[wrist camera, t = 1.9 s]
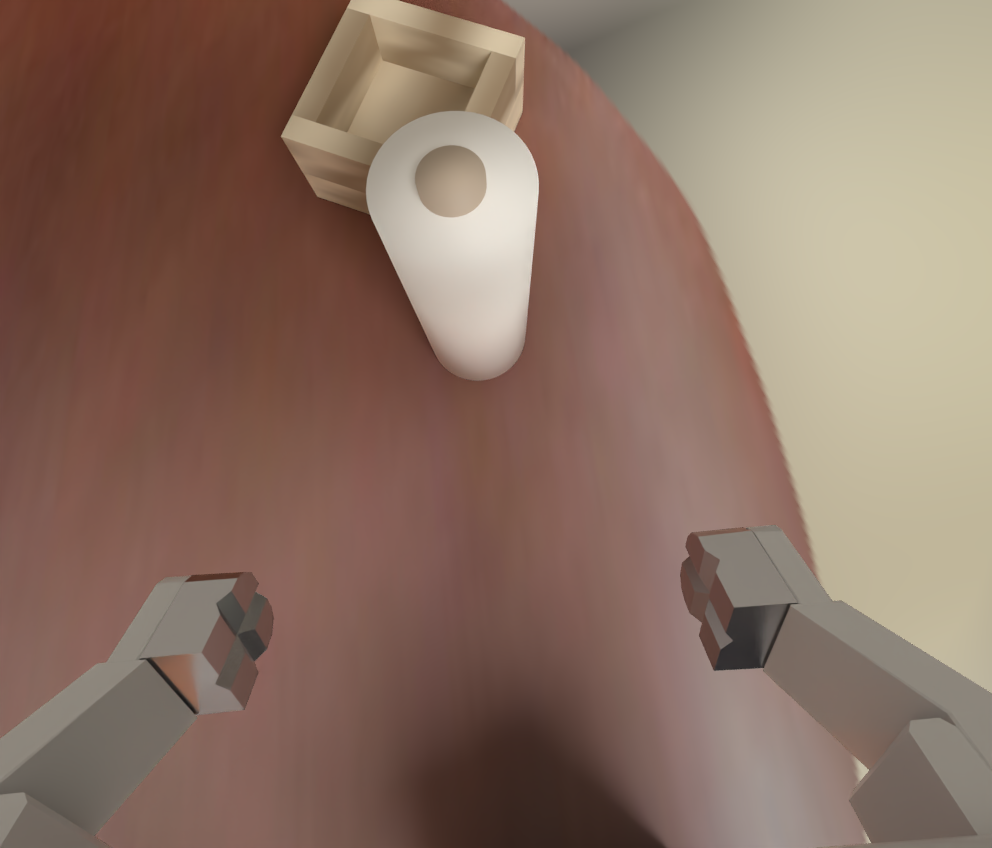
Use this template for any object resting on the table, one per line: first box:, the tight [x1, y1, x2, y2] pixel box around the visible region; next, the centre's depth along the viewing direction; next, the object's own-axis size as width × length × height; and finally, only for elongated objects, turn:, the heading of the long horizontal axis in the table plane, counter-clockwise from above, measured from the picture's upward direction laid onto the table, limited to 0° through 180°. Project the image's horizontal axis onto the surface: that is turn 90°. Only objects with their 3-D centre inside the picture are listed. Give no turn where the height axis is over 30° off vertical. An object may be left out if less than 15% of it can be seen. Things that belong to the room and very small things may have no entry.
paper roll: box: [366, 111, 539, 381], centre depth 20 cm, size 5×5×12 cm
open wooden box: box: [281, 0, 525, 214], centre depth 26 cm, size 9×9×4 cm
